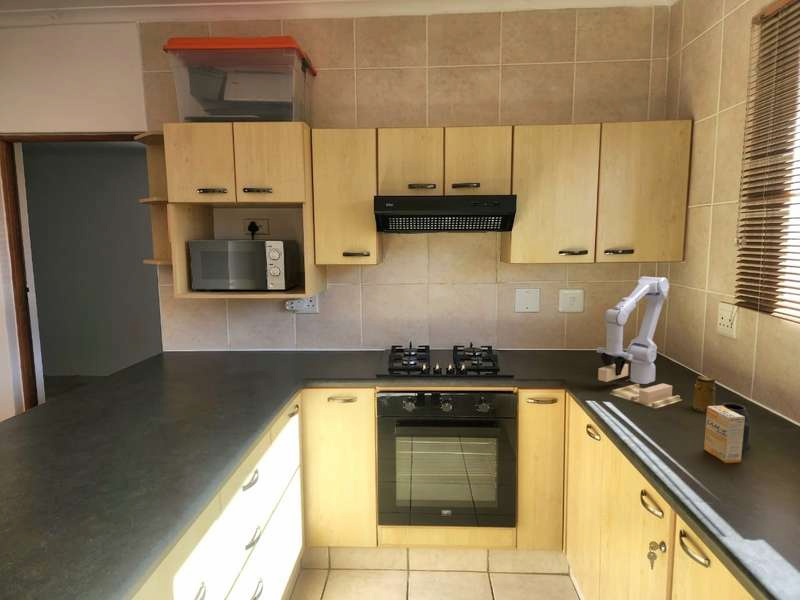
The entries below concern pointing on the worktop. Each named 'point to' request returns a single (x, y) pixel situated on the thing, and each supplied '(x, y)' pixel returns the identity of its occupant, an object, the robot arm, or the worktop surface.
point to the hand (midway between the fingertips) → (613, 373)
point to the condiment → (704, 393)
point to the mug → (743, 412)
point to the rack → (633, 395)
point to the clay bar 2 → (655, 393)
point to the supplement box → (724, 433)
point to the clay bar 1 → (611, 373)
